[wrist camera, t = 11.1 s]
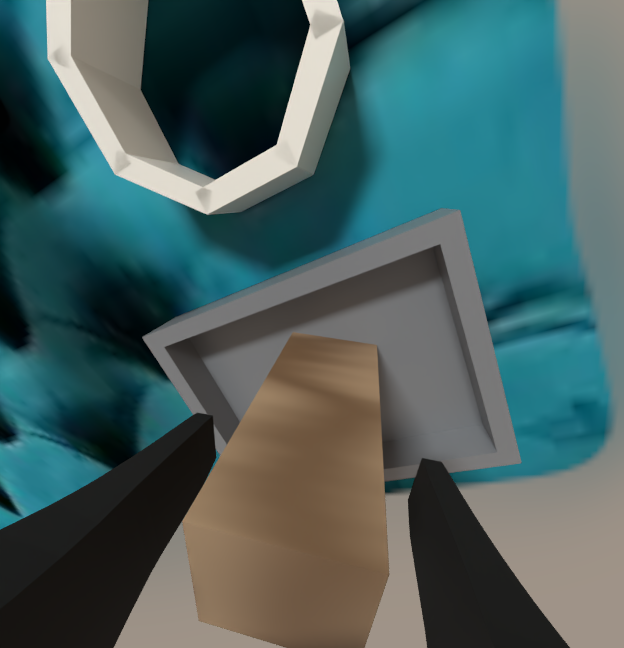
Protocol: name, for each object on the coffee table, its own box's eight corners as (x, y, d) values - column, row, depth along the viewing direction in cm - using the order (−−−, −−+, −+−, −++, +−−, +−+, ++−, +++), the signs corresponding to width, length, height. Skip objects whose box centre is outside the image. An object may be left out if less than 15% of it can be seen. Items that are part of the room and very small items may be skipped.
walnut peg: (288, 399, 15) (198, 621, 7) (292, 331, 14) (182, 521, 6) (363, 412, 15) (357, 669, 7) (376, 344, 13) (389, 574, 5)
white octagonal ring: (197, 234, 14) (154, 243, 11) (82, 18, 11) (-11, -41, 8) (374, 144, 11) (375, 125, 8) (276, -168, 8) (231, -347, 6)
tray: (263, 463, 19) (249, 499, 17) (174, 317, 16) (142, 337, 13) (497, 422, 15) (521, 463, 12) (441, 208, 11) (460, 210, 9)
